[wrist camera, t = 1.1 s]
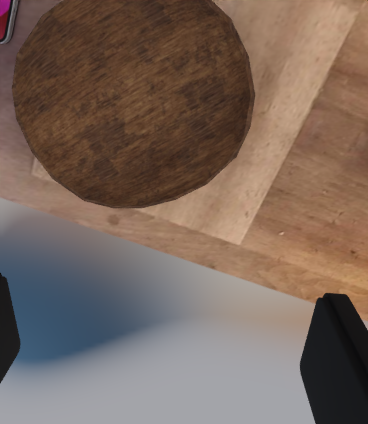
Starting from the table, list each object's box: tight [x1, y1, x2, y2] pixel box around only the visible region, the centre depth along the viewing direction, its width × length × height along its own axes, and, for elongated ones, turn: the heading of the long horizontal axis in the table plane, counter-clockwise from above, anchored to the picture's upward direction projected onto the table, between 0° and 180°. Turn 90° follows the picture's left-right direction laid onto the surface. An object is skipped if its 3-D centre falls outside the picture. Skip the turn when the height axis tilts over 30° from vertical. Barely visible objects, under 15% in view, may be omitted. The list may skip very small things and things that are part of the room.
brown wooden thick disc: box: [12, 0, 255, 208], centre depth 34 cm, size 20×22×5 cm
